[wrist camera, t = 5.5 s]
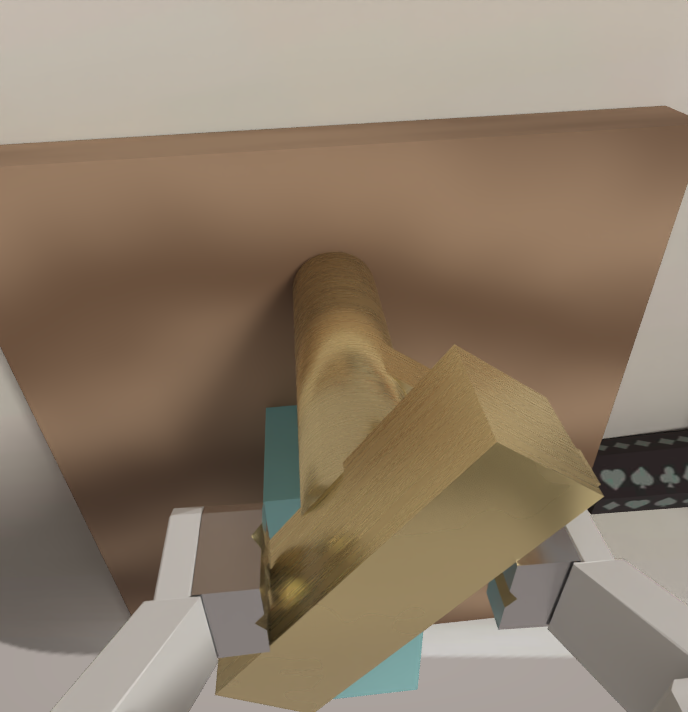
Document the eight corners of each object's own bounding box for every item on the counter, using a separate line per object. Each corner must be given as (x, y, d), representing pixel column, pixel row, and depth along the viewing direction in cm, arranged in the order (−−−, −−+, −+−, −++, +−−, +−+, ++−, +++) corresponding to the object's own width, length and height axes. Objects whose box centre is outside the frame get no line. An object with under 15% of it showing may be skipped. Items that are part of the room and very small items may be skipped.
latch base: (530, 577, 31) (543, 612, 29) (157, 615, 30) (150, 654, 28) (665, 105, 16) (707, 123, 15) (-47, 147, 15) (-85, 172, 14)
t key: (580, 310, 18) (821, 606, 10) (436, 448, 21) (531, 756, 13) (372, 166, 14) (484, 436, 7) (238, 355, 17) (204, 693, 10)
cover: (401, 601, 27) (417, 689, 24) (297, 611, 27) (299, 702, 24) (411, 395, 19) (437, 485, 16) (265, 407, 19) (262, 501, 16)
